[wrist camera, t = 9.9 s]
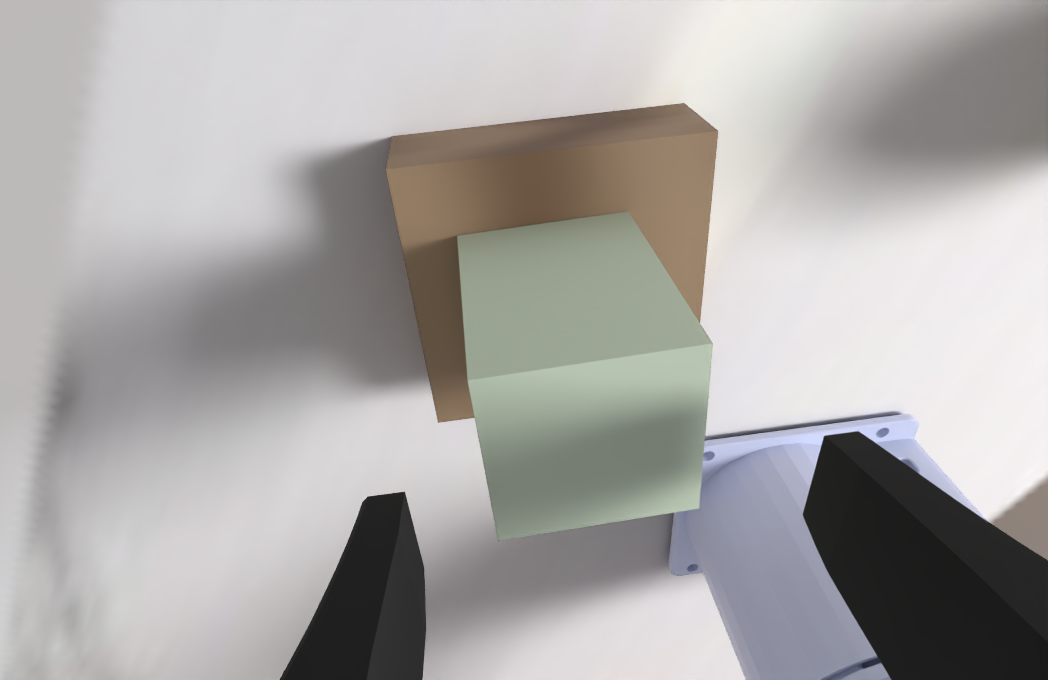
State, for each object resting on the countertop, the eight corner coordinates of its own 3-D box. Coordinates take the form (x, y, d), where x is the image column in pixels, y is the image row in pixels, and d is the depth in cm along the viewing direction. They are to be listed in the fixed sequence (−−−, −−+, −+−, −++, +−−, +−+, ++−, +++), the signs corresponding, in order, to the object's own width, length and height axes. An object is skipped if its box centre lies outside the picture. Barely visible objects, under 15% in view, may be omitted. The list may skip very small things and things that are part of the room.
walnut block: (679, 99, 18) (717, 131, 15) (665, 334, 22) (693, 388, 20) (392, 131, 18) (385, 169, 15) (438, 364, 22) (438, 422, 20)
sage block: (628, 211, 16) (712, 343, 11) (629, 350, 19) (698, 508, 14) (457, 235, 16) (467, 380, 11) (481, 373, 19) (498, 541, 14)
